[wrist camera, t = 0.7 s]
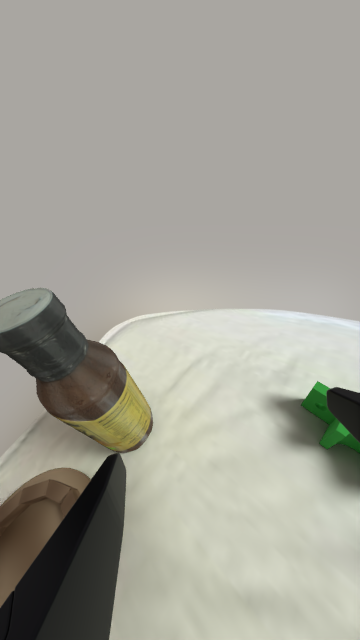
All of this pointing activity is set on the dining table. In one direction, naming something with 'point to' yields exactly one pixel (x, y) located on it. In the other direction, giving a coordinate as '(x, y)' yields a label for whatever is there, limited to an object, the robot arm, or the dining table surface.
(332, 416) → the pipe clamp
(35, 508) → the ring holder
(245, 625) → the dining table surface
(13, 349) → the sauce bottle
